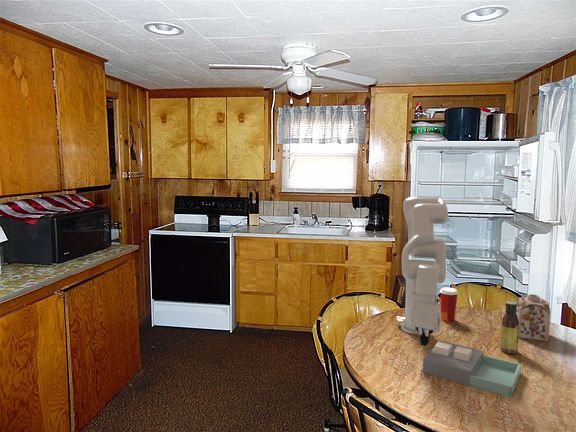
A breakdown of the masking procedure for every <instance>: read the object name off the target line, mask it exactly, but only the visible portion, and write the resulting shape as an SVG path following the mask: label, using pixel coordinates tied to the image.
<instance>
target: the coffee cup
mask: <svg viewBox="0 0 576 432" xmlns="http://www.w3.org/2000/svg"><path fill="white" fill-rule="evenodd" d="M439 292H440V320H441V321H444V322H449V323H450V322H451V323H452V322H454V321H455V318H456V317H455V316H456V312H457V311H456V310H457V301H458V300H457V299H458V294H459V292H458V289H456V288H454V287H442V288H441V289H440V290H439Z"/></svg>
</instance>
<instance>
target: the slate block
mask: <svg viewBox="0 0 576 432" xmlns="http://www.w3.org/2000/svg"><path fill="white" fill-rule="evenodd" d="M438 342H442V343H446V344H450V345H452V352H451V353H450V354H449V355H448V356H445V355H441V354H437V353H434V347H433V348H432V349H431V350H430V351H429V352H428V353H427V354H426V355H425V356H424V357H423V358H422V373H425V374H428V375H431V376H434V377H439V378H442V379H446V380H448V381H452V382H456V383H460V384H463V385H466V386H469V387H471V386H470V376H471V375H473V376H475V375H476V373H477V371H478V370H479V368H480V366H481V365H482V363H483V355H484V353H485V352H484V350H481V349H478V348H472V347H468V346H464V345H461V344H460V345H459V344H455V343H452V342H449V341H443V340H439V341H438ZM457 346H458V347H463V348H467V349H471V350H472V357H471V358H470V360H469V361H465V360H461V359H457V358H454V350H455V349H456V348H457Z"/></svg>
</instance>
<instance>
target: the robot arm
mask: <svg viewBox="0 0 576 432" xmlns="http://www.w3.org/2000/svg"><path fill="white" fill-rule="evenodd" d="M402 209H403V215H404V219H405V221H406V225H407V228H408V229H407V231H408V232H407V235H408V236H407V238H408V239H407V243H405V245H404V247H403V249H402V253H401V273H402V276H403V278H405V306H404V307H405V308H404V309H405V311H404V312H405V313H404V316H403V317H401V316H398V315H397V316H396V322H397V323H401V325H400V328H401V330H402V331H403V332H405V333H407V334H412V335H416V336H417V335H419V342H420V346H423V347H426V346H428V344H429V343H430V336H431V334H438V333H440V331H441V330H440V325H441V310H440V304H439V302H438V301H437V300H438V297H437V296H438V284H443V283H444V282H445V281H446V279H447V249H446V243H445V241H444V239H443V238H441V237H435V232H434V230H435V229H434V227H435V226H434V225H444V224H447V222H448V219H449V208H448V206H447V204H446V202H445V200H444V199H443V198H442V197H432V196H430V197H426V196H425V197H424V196H413V197H408V198H407V197H406V198H405V199H404V200H403V204H402ZM410 257H411V258H415V259H410ZM417 258H418V259H417ZM421 259H422V260H421ZM423 259H433V260H423Z"/></svg>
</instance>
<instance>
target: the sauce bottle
mask: <svg viewBox="0 0 576 432" xmlns="http://www.w3.org/2000/svg"><path fill="white" fill-rule="evenodd" d="M516 308H517V303H516V301H515V302H514V301H506V302H505V314H504V315H503V316H502V318H501V319H502V320H501V333H500V350H501V352H503V353H506V354H510V355H514V354H517V353H518V350H519V341H520V340H519V339H520V338H519V321H518V318H517V314H516Z"/></svg>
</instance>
